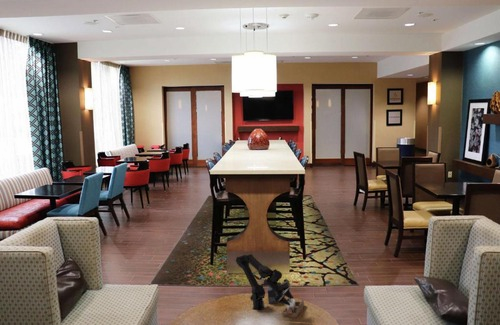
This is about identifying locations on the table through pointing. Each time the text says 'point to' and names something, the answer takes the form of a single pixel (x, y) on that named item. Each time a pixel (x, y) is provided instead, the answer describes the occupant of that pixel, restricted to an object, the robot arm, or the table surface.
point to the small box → (271, 295)
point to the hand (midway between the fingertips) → (291, 302)
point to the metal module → (291, 305)
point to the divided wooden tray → (298, 308)
